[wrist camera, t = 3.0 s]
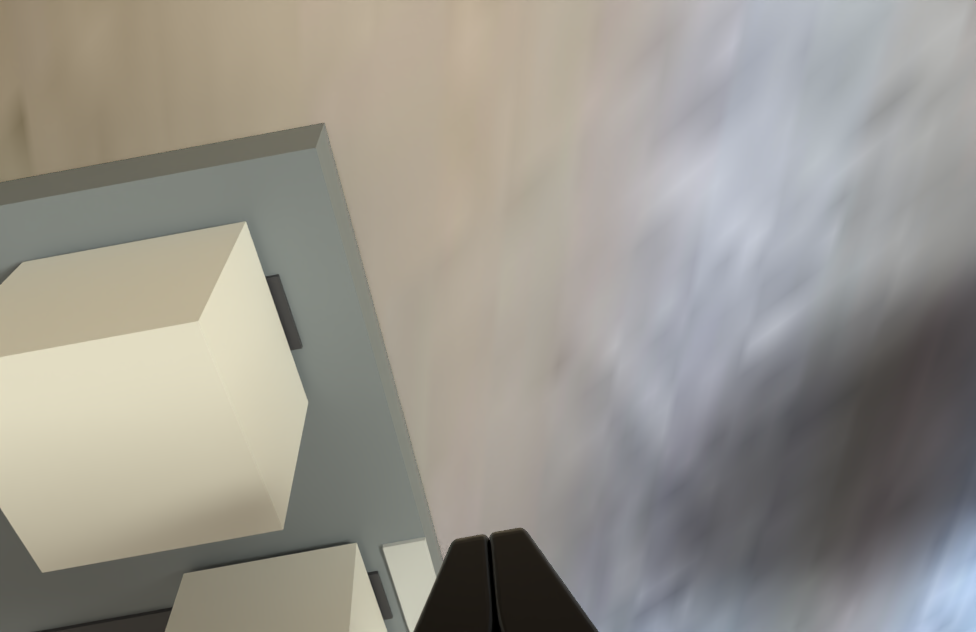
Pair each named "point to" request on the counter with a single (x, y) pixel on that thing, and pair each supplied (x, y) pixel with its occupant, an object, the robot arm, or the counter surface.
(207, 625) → the middle tab
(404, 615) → the switch bank
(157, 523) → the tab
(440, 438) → the counter surface
